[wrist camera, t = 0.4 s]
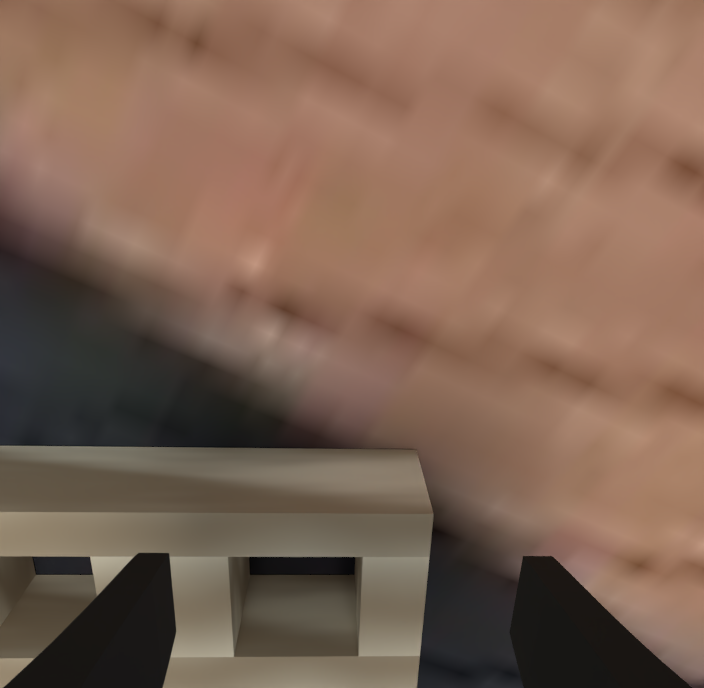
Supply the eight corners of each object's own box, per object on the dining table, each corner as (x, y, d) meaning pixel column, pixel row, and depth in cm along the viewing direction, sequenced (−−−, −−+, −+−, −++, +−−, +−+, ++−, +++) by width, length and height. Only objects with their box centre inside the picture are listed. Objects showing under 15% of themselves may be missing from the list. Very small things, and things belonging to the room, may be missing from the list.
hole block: (403, 605, 24) (416, 690, 21) (-11, 606, 24) (-76, 694, 20) (416, 449, 22) (433, 513, 18) (-52, 445, 21) (-137, 511, 17)
